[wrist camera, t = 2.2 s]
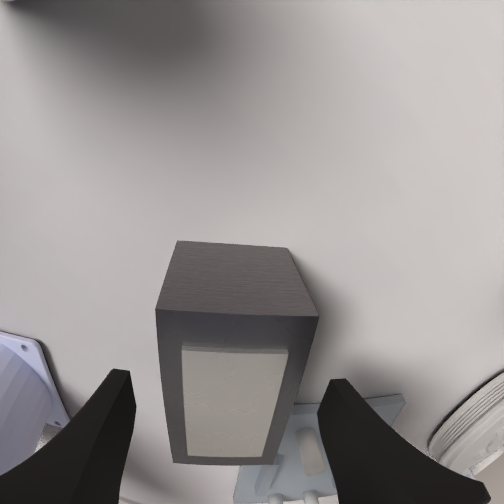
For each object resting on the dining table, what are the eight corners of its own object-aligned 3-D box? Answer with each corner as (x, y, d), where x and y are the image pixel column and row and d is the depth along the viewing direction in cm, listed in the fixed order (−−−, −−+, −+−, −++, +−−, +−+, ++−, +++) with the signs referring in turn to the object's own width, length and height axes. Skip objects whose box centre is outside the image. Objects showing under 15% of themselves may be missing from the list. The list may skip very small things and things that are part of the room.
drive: (179, 385, 16) (172, 466, 11) (177, 239, 12) (153, 313, 8) (260, 388, 16) (273, 467, 12) (286, 246, 13) (321, 320, 8)
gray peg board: (233, 496, 22) (235, 530, 19) (253, 405, 17) (260, 459, 13) (335, 488, 24) (343, 518, 20) (401, 393, 18) (423, 435, 14)
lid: (510, 341, 18) (544, 377, 14) (528, 378, 22) (550, 405, 18) (403, 441, 22) (423, 484, 17) (449, 452, 26) (465, 482, 21)
